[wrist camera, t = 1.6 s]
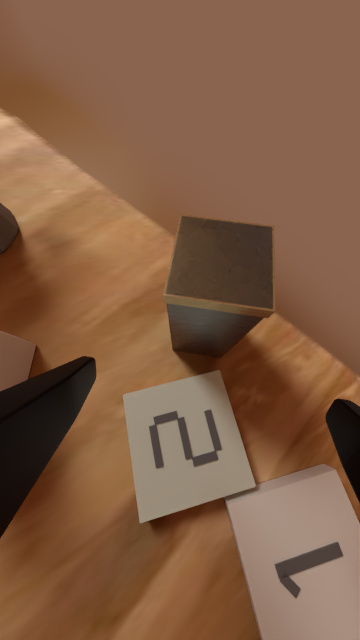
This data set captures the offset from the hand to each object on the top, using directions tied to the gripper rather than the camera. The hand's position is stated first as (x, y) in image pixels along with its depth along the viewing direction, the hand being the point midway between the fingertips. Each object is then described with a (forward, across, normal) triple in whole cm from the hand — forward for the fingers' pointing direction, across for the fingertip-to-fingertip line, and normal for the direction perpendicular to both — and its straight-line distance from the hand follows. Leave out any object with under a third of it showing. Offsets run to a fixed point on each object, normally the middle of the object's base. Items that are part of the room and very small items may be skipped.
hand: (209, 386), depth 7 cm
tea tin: (+13, 0, +4) cm, 14 cm away
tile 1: (+2, -10, +16) cm, 18 cm away
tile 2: (+6, 0, +11) cm, 13 cm away
